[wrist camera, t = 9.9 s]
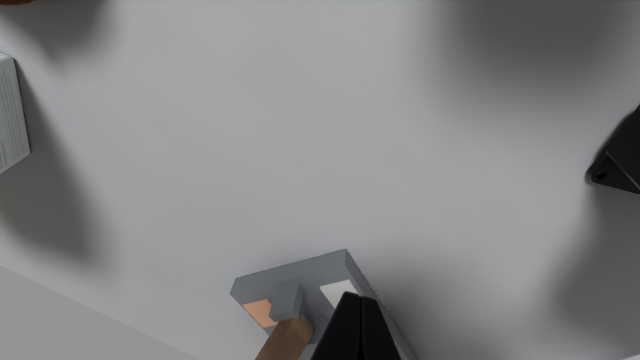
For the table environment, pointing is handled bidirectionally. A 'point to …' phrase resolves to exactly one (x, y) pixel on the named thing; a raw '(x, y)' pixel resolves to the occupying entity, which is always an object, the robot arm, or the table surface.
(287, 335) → the walnut lever
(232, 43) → the table surface
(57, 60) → the table surface
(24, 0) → the cup and saucer
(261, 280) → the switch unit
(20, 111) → the supplement box
